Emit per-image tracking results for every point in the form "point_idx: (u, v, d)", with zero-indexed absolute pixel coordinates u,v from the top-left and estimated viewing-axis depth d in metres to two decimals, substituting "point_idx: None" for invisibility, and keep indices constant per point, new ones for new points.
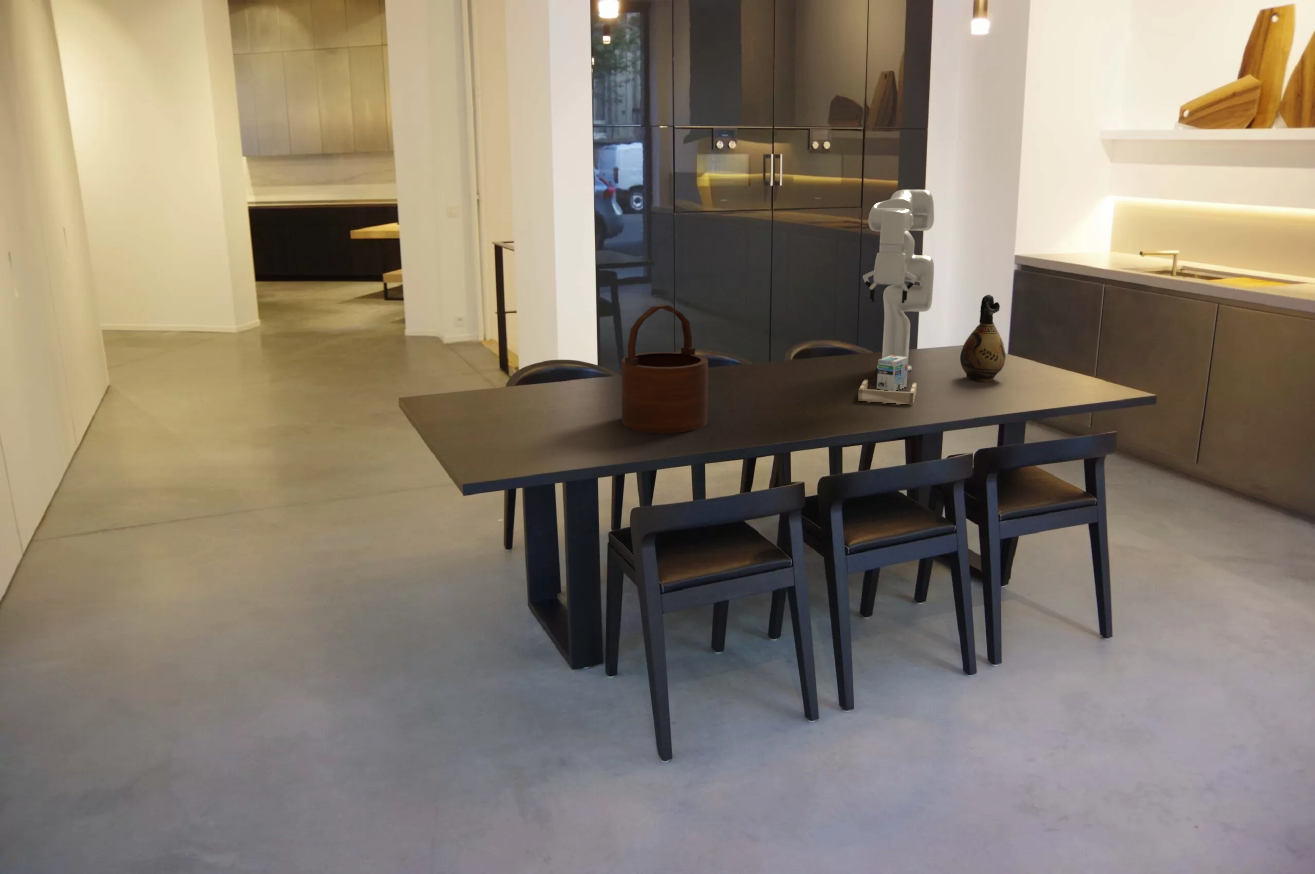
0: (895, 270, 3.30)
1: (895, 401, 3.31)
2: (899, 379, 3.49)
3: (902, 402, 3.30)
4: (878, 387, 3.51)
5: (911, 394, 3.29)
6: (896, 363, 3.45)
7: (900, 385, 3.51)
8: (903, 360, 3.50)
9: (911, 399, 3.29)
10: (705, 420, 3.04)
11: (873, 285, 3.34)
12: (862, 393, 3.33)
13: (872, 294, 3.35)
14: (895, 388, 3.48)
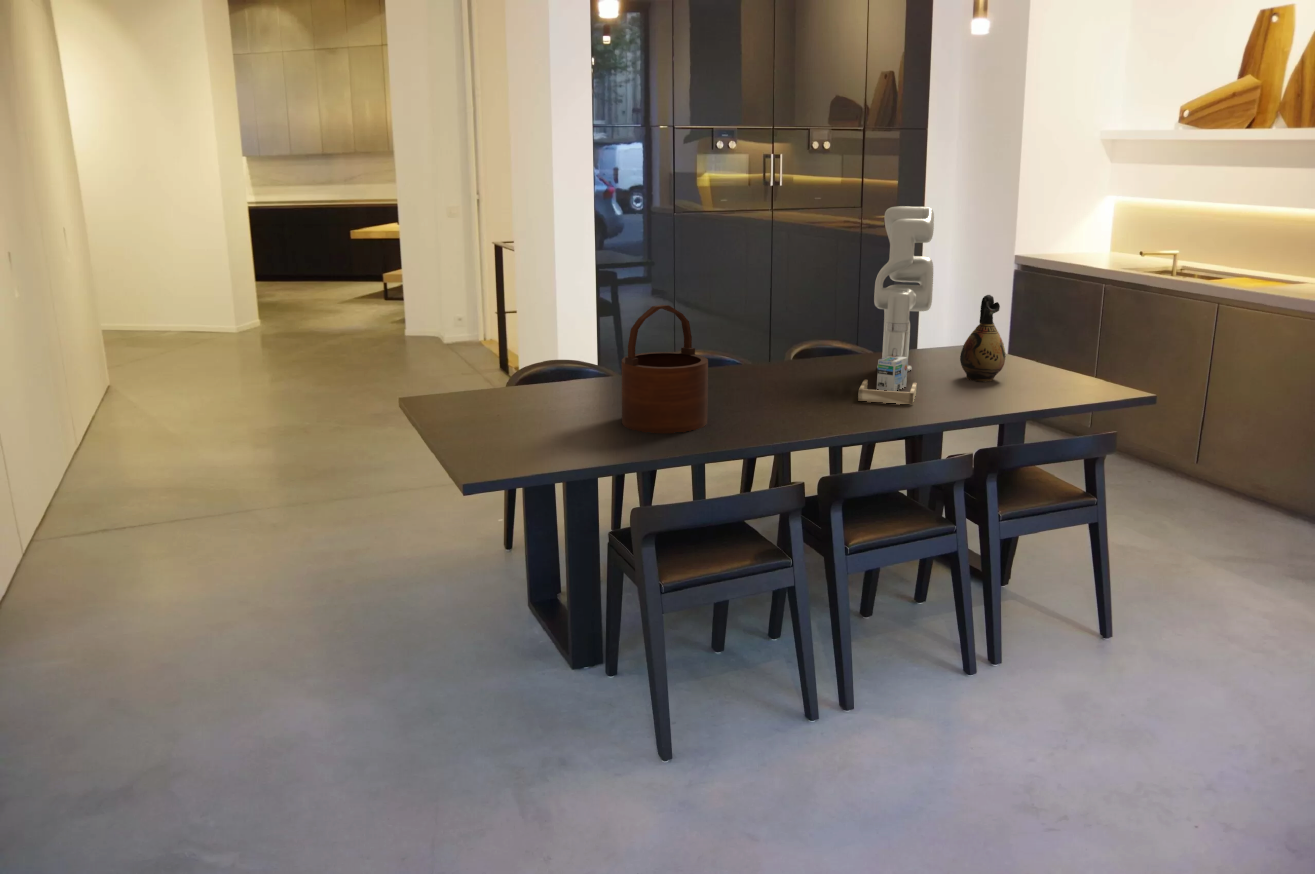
0: None
1: (895, 401, 3.31)
2: (898, 380, 3.49)
3: (902, 402, 3.30)
4: (878, 387, 3.50)
5: (911, 394, 3.29)
6: (896, 363, 3.45)
7: (900, 386, 3.50)
8: (903, 360, 3.50)
9: (911, 399, 3.29)
10: (705, 420, 3.04)
11: None
12: (862, 393, 3.33)
13: None
14: (895, 388, 3.48)
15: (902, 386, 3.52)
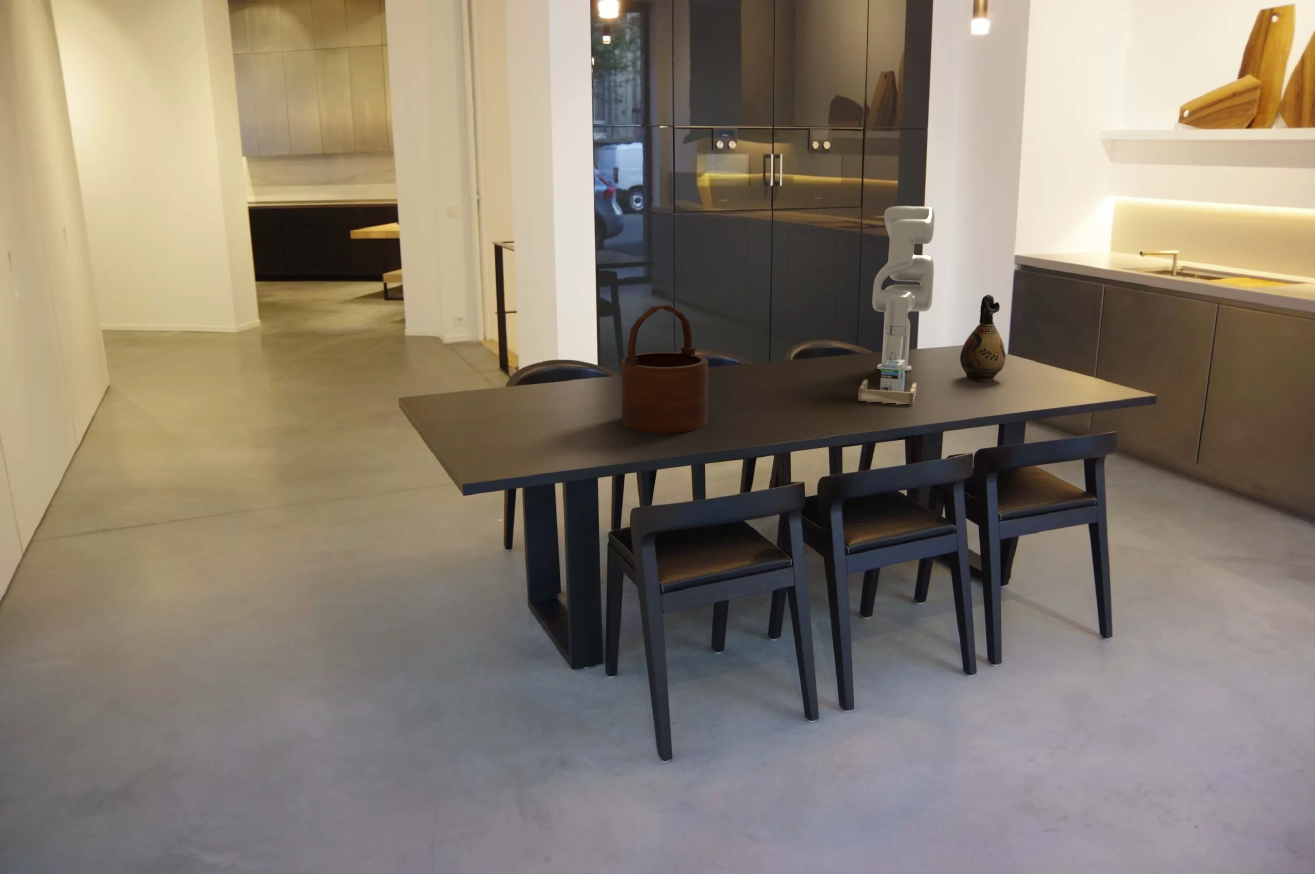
0: None
1: (895, 401, 3.31)
2: (901, 383, 3.43)
3: (902, 402, 3.30)
4: None
5: (911, 394, 3.29)
6: (901, 367, 3.39)
7: (901, 389, 3.45)
8: (903, 363, 3.44)
9: (911, 399, 3.29)
10: (705, 420, 3.04)
11: None
12: (862, 393, 3.33)
13: None
14: None
15: (902, 389, 3.47)
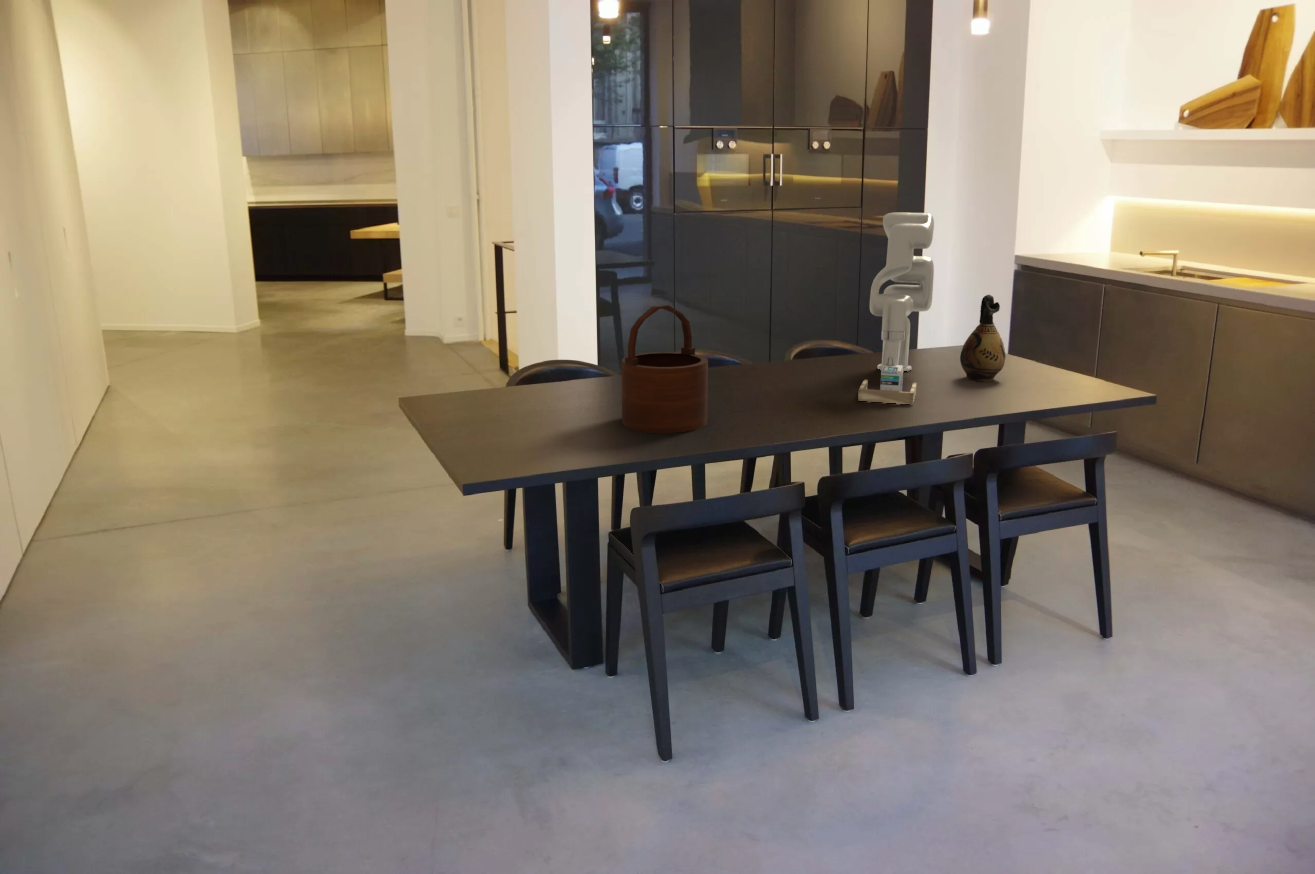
0: None
1: (895, 401, 3.31)
2: (901, 389, 3.34)
3: (902, 402, 3.30)
4: None
5: (911, 394, 3.29)
6: (901, 372, 3.30)
7: None
8: (902, 369, 3.35)
9: (911, 399, 3.29)
10: (705, 420, 3.04)
11: None
12: (862, 393, 3.33)
13: None
14: None
15: None
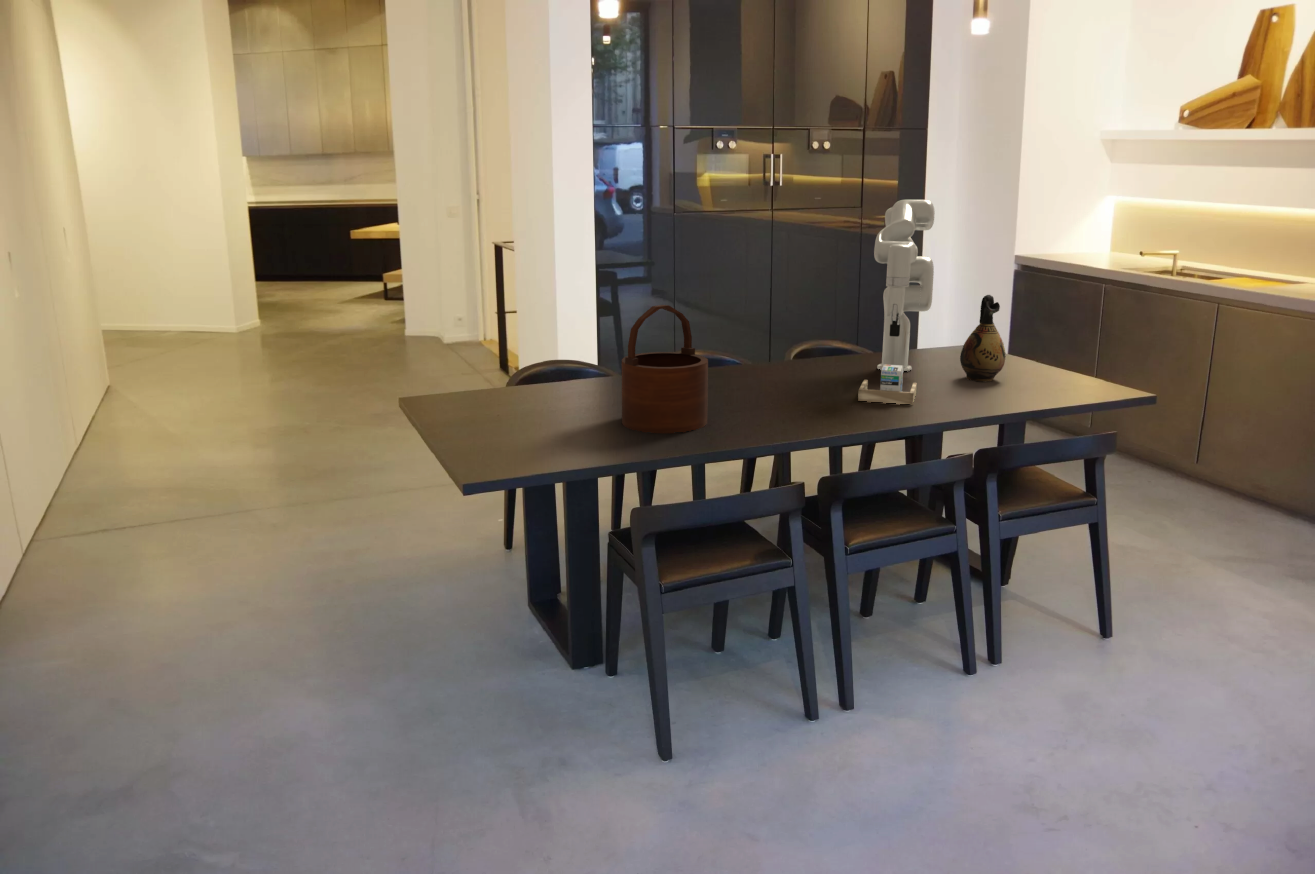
0: (903, 300, 3.45)
1: (895, 401, 3.31)
2: (901, 389, 3.34)
3: (902, 402, 3.30)
4: None
5: (911, 394, 3.29)
6: (901, 373, 3.30)
7: None
8: (902, 369, 3.35)
9: (911, 399, 3.29)
10: (705, 420, 3.04)
11: (899, 320, 3.45)
12: (862, 393, 3.33)
13: (899, 329, 3.45)
14: None
15: None
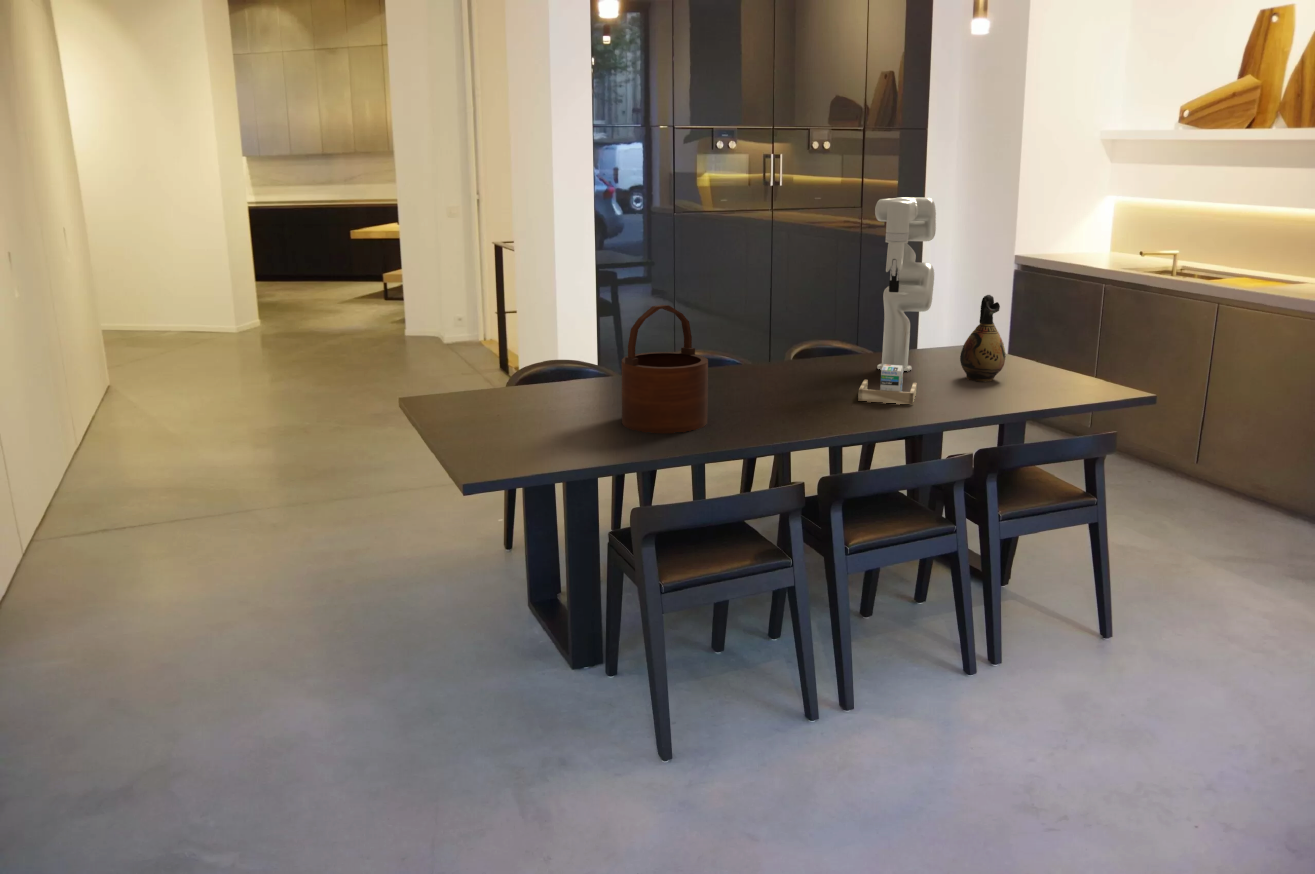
0: (902, 257, 3.52)
1: (895, 401, 3.31)
2: (901, 389, 3.34)
3: (902, 402, 3.30)
4: None
5: (911, 394, 3.29)
6: (901, 373, 3.30)
7: None
8: (902, 369, 3.35)
9: (911, 399, 3.29)
10: (705, 420, 3.04)
11: (898, 276, 3.51)
12: (862, 393, 3.33)
13: (898, 285, 3.52)
14: None
15: None
